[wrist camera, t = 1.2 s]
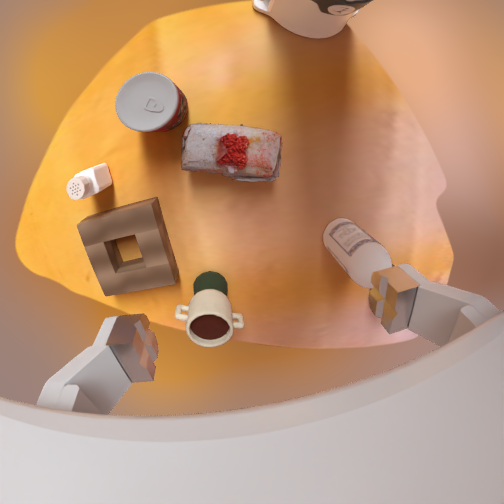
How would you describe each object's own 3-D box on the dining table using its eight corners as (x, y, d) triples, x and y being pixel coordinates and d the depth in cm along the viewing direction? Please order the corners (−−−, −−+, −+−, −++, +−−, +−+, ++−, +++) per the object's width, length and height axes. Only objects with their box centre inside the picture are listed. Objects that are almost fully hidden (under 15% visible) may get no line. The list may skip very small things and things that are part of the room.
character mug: (179, 295, 50) (171, 342, 39) (184, 262, 47) (174, 306, 36) (235, 304, 52) (240, 351, 41) (243, 272, 50) (251, 317, 38)
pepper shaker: (88, 169, 38) (60, 181, 30) (107, 161, 38) (81, 170, 30) (95, 191, 40) (69, 206, 31) (114, 183, 40) (90, 197, 31)
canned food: (182, 134, 38) (170, 135, 28) (134, 128, 37) (109, 129, 27) (193, 88, 35) (185, 74, 25) (145, 83, 34) (122, 69, 24)
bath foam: (351, 252, 51) (407, 313, 33) (319, 251, 50) (367, 317, 32) (358, 218, 48) (424, 269, 30) (325, 215, 47) (383, 270, 29)
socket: (87, 216, 41) (76, 225, 37) (157, 196, 42) (151, 204, 38) (112, 283, 48) (105, 296, 44) (178, 271, 48) (175, 284, 44)
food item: (275, 129, 40) (291, 128, 31) (270, 177, 43) (283, 189, 34) (188, 122, 38) (178, 120, 29) (185, 171, 41) (175, 183, 32)
